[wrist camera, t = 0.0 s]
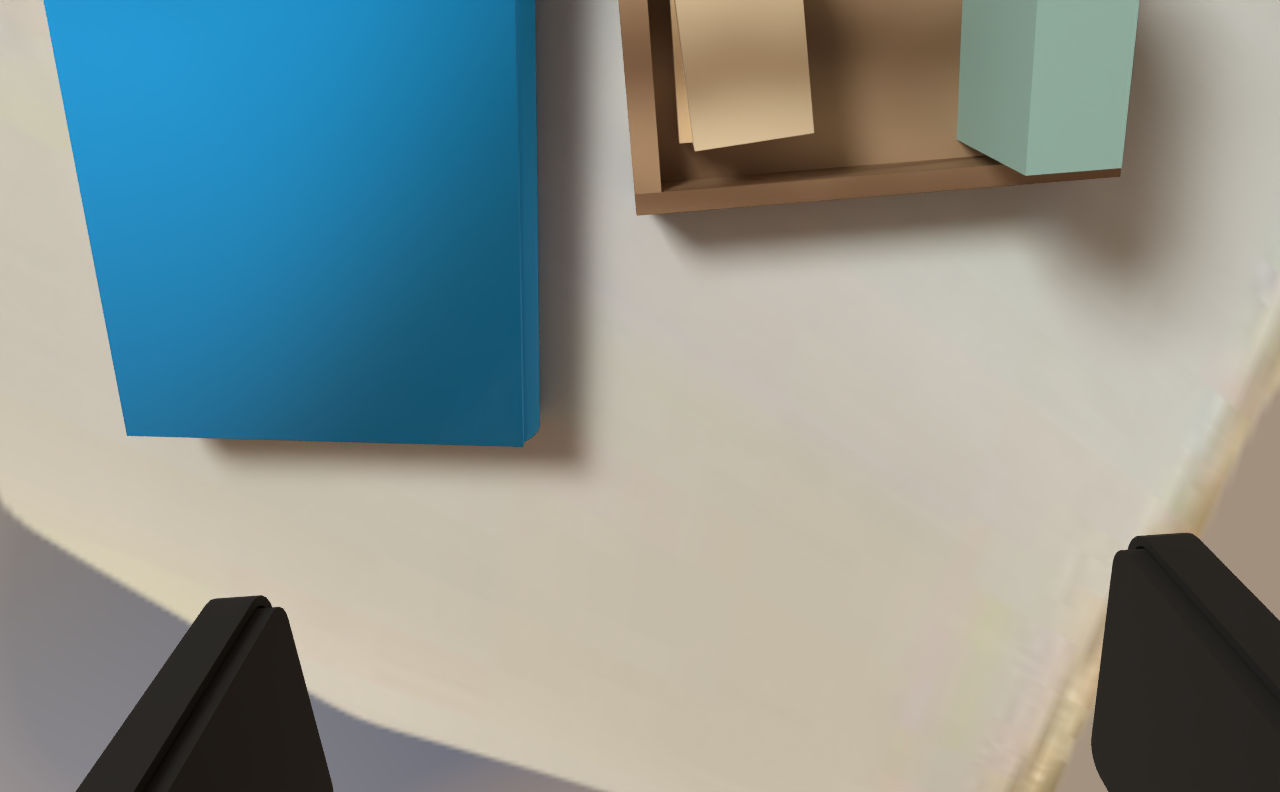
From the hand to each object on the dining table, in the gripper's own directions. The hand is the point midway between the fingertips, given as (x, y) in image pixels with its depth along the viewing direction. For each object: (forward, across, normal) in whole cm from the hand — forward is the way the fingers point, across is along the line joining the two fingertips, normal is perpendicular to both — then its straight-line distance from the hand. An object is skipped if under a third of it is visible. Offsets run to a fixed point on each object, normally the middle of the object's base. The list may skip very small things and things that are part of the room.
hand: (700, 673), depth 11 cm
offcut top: (+28, -3, -5) cm, 29 cm away
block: (+30, -13, -5) cm, 33 cm away
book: (+32, +13, -3) cm, 35 cm away
